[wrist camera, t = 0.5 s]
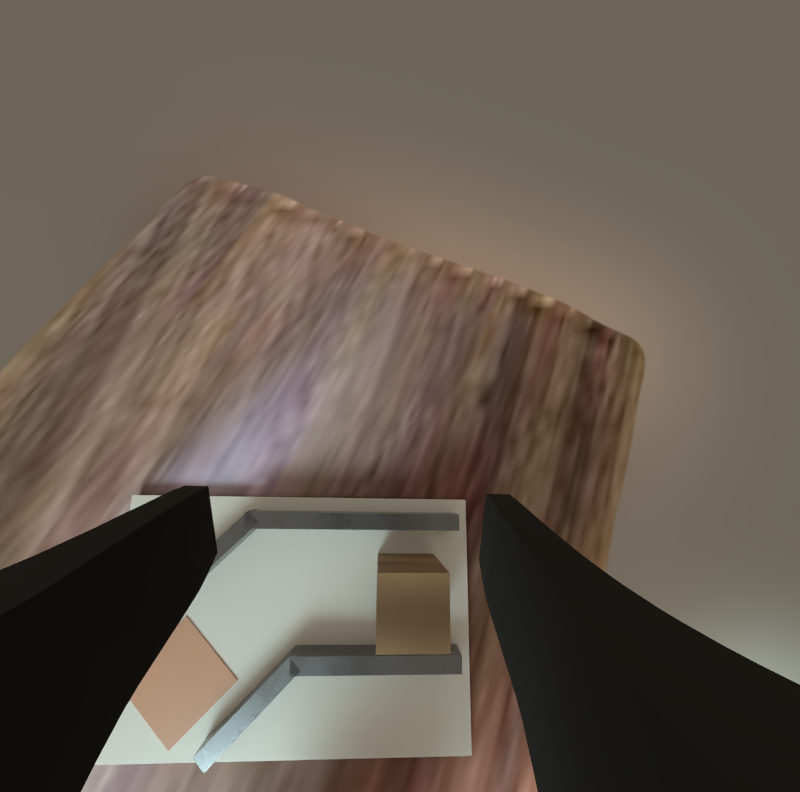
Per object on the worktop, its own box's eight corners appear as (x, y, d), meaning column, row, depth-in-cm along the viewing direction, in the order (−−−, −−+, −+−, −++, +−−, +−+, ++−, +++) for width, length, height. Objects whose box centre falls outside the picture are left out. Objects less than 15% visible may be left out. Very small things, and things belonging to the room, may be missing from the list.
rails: (457, 746, 27) (464, 766, 26) (102, 754, 26) (80, 776, 24) (453, 511, 31) (459, 513, 29) (144, 507, 30) (128, 509, 28)
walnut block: (433, 615, 29) (450, 654, 23) (375, 615, 29) (375, 654, 22) (433, 553, 30) (449, 573, 24) (377, 553, 30) (378, 572, 23)
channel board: (469, 750, 28) (472, 756, 27) (91, 759, 26) (83, 766, 26) (463, 499, 32) (465, 499, 32) (137, 494, 31) (131, 495, 30)
